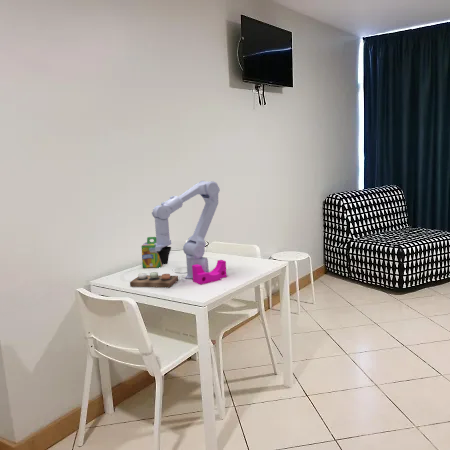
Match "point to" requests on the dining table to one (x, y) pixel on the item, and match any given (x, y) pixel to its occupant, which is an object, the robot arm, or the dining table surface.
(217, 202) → the robot arm
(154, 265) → the chalk box
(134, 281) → the button panel
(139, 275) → the grey button
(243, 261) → the dining table surface
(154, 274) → the sage button
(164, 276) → the terracotta button
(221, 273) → the toy block
